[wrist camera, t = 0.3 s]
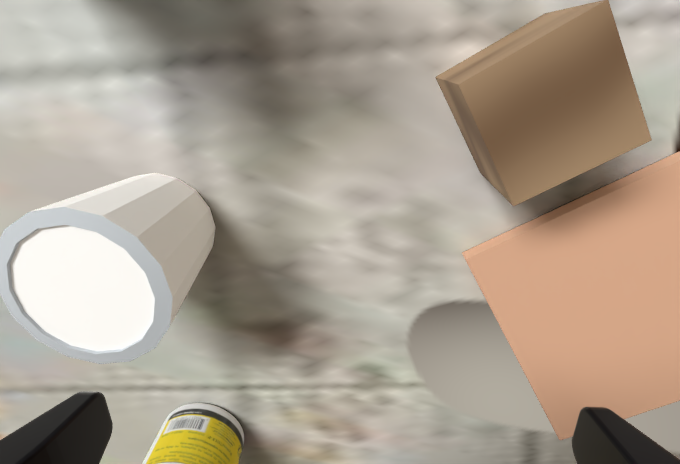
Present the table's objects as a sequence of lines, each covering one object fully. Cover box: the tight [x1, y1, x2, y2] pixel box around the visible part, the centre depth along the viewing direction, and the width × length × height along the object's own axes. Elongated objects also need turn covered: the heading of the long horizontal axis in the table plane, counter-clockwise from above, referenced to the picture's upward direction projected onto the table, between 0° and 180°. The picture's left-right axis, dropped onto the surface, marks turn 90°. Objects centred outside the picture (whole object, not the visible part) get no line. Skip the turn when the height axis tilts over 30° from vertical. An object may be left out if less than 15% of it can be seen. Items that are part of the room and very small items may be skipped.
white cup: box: [0, 173, 216, 364], centre depth 19 cm, size 7×7×7 cm
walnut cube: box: [436, 0, 651, 206], centre depth 17 cm, size 5×5×5 cm
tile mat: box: [462, 151, 680, 440], centre depth 22 cm, size 14×14×1 cm
